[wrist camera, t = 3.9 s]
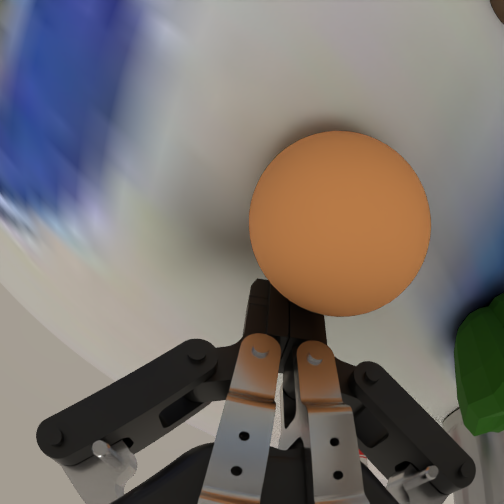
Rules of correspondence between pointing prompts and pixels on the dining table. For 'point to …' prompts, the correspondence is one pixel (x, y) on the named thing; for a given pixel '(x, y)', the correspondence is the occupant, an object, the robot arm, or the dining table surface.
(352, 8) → the dining table surface
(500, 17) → the post
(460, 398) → the bell pepper
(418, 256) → the ball
